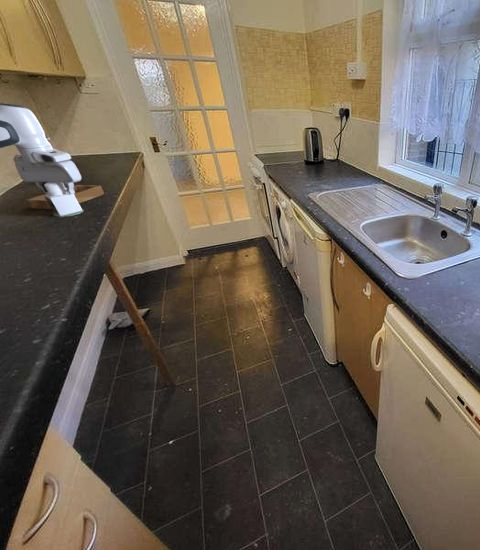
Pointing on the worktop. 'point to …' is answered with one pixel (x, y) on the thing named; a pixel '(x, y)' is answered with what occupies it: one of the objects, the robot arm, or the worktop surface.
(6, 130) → the robot arm
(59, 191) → the medicine bottle
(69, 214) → the mat
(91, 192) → the tray
